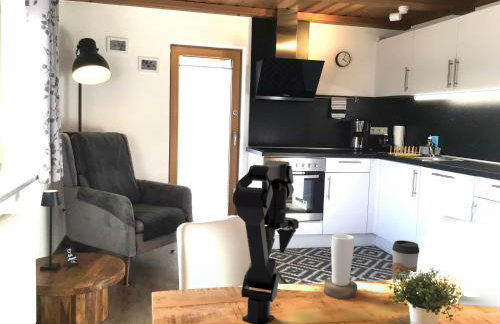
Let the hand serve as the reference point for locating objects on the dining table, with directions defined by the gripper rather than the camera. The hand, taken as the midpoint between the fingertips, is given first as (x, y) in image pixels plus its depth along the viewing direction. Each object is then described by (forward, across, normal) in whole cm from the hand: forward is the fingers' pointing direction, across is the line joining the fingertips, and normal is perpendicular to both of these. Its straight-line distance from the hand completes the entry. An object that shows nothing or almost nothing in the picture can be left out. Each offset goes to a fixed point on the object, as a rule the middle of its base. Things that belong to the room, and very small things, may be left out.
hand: (274, 256), depth 133 cm
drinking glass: (+10, -17, +14) cm, 25 cm away
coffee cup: (+13, -34, +29) cm, 47 cm away
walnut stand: (+13, -17, +14) cm, 26 cm away
